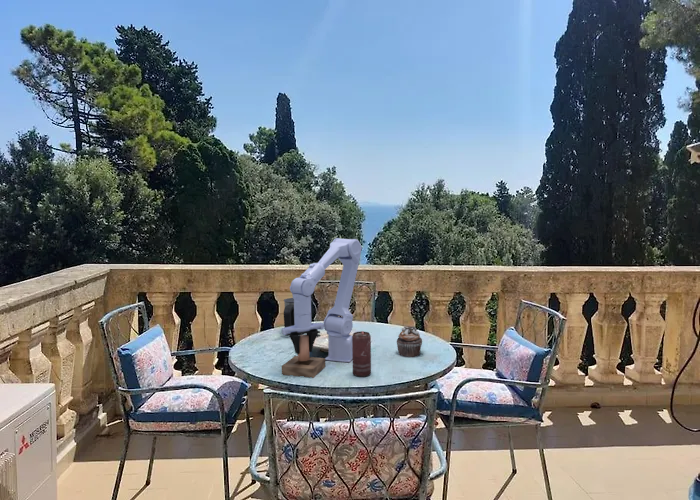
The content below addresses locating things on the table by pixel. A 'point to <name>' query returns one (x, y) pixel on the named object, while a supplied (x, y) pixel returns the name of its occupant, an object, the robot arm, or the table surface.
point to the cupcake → (409, 342)
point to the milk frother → (290, 314)
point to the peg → (304, 348)
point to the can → (361, 354)
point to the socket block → (303, 367)
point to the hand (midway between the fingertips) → (303, 352)
